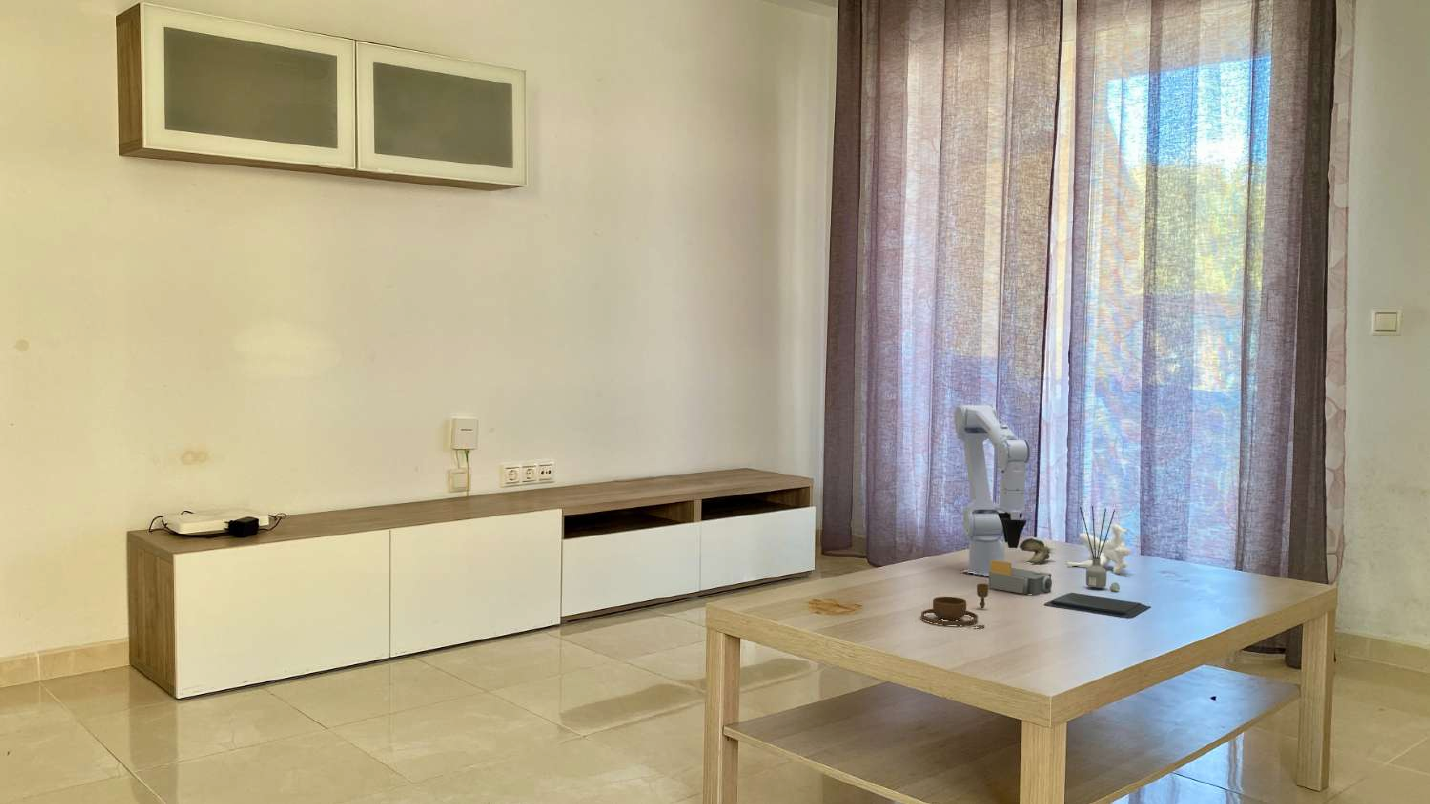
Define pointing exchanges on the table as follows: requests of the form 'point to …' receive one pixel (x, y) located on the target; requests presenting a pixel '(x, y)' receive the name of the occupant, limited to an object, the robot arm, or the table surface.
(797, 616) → the table surface
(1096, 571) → the reed diffuser
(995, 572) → the side hatch
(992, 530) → the robot arm
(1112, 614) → the wallet
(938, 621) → the place setting
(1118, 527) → the person figurine
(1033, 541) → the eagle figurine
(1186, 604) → the table surface
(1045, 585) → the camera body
